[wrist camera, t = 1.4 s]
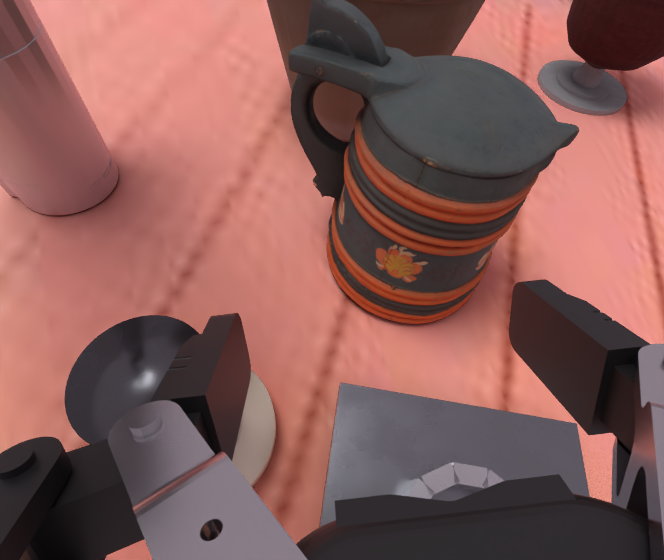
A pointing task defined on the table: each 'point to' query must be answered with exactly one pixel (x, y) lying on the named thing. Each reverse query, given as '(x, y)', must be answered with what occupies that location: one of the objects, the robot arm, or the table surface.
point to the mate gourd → (604, 52)
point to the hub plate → (439, 448)
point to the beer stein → (416, 163)
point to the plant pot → (396, 32)
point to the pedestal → (255, 433)
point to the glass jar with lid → (121, 372)
